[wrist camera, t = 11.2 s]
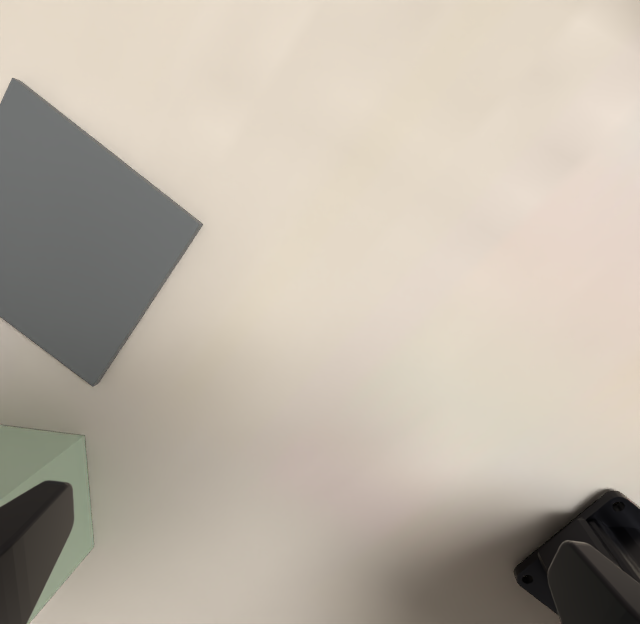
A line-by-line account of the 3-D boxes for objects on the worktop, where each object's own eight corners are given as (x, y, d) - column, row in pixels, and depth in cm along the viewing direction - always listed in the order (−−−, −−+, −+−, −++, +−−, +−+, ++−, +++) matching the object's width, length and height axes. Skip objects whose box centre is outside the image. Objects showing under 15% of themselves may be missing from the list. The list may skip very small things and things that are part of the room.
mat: (203, 224, 18) (199, 224, 18) (98, 383, 21) (93, 386, 21) (20, 80, 18) (12, 77, 18) (-65, 260, 20) (-73, 261, 20)
